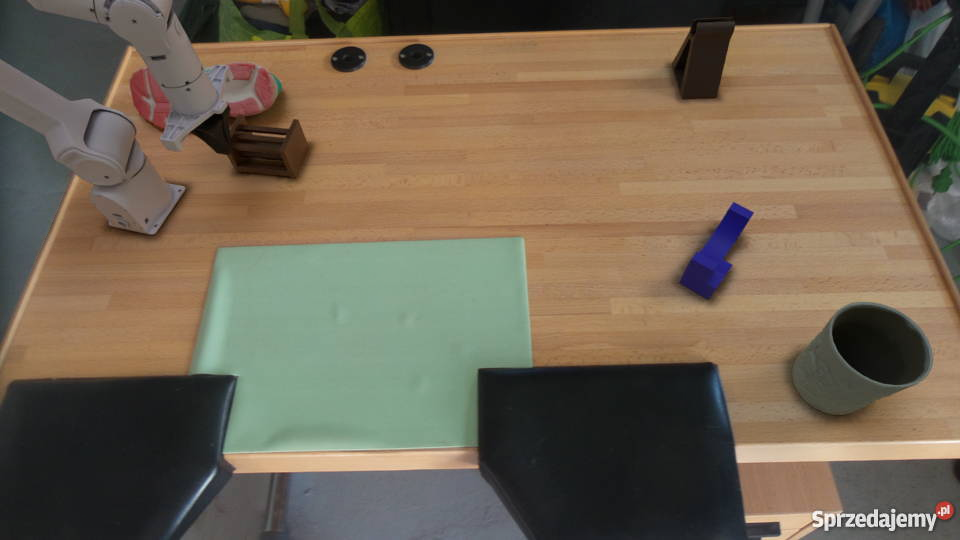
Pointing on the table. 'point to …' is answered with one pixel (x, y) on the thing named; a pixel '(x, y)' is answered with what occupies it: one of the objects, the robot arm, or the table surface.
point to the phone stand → (703, 57)
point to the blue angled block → (716, 253)
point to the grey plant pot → (861, 358)
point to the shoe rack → (267, 147)
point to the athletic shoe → (243, 93)
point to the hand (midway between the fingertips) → (224, 150)
